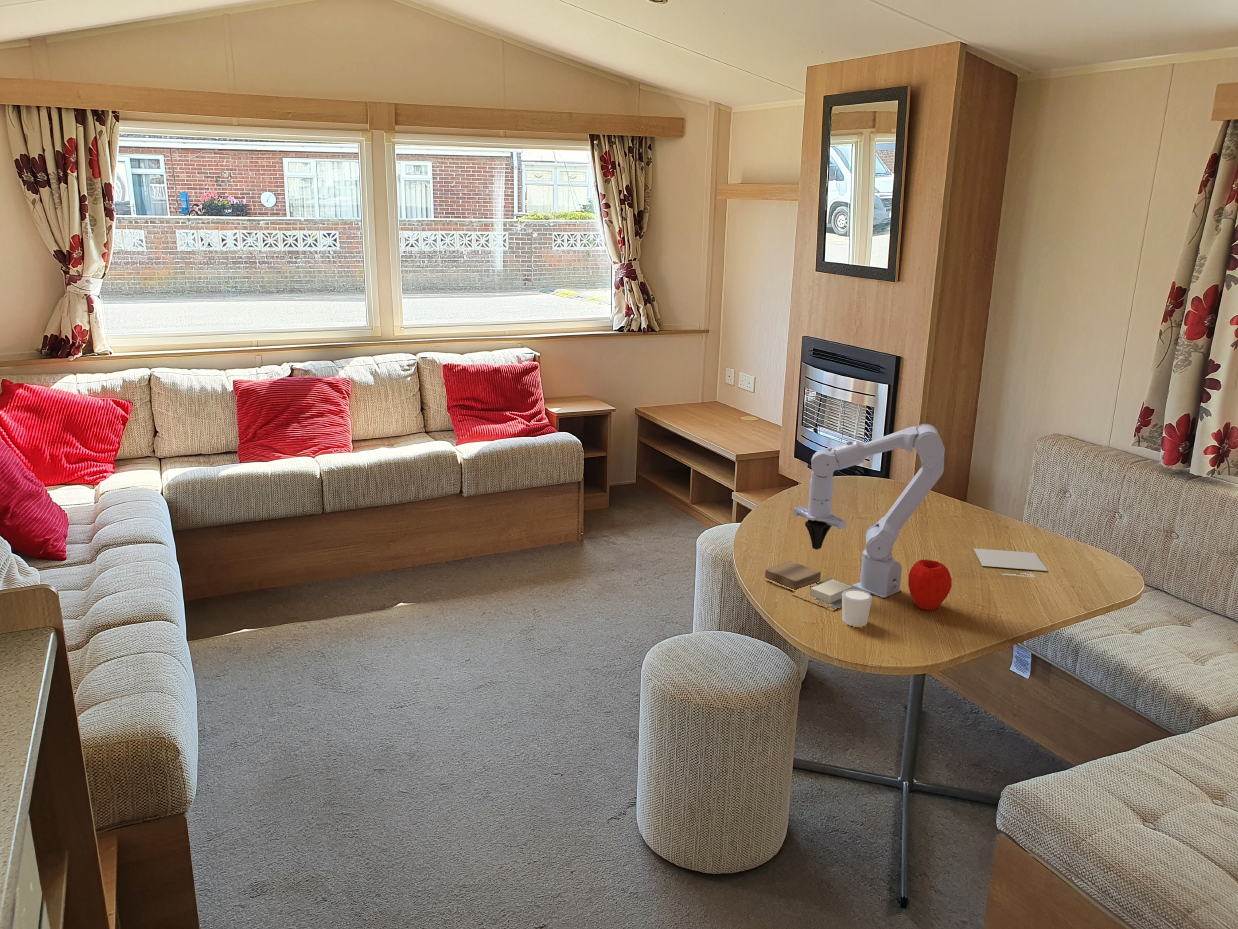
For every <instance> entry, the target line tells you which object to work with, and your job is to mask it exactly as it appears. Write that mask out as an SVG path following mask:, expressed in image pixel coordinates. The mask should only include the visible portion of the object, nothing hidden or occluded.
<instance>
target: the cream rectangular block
mask: <svg viewBox="0 0 1238 929" xmlns="http://www.w3.org/2000/svg"><path fill="white" fill-rule="evenodd" d="M833 579H834V578H833ZM833 579H832V580H830V581H827V582H825V583H822V584H820V585H817V586H814V587H812V588H810V596H813V597H816V598H818V599H820V600H823V601H825V602H828V603H831V602H834V601H836V600H839V599H841V598H842V592H843V591H846V590H851V589H852V586H853V585H852V586H850V585H851V584H849V585H847V584H848V583H847V584H844V583H845V582H844V583H841V582H842V581H841V582H839V581H840V580H838V581H836V580H837V579H836V580H833Z"/></svg>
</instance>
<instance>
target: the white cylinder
mask: <svg viewBox="0 0 1238 929" xmlns="http://www.w3.org/2000/svg"><path fill="white" fill-rule="evenodd" d="M872 600H873V594H872V595H871V594H869V593H868V592H865V591H862V590H854V589H851V590H846V591H843V592H842V608H841V618H842V619H841V621H842V620H843V621H844V622H845V623H846V624H849V625H853V626H864V625H866V624H867V625H868V621H869V620H868V619H869V617H870V616H869V615H870V611H871V605H872ZM843 621H842V622H843ZM867 625H866V626H867Z"/></svg>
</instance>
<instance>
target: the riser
mask: <svg viewBox="0 0 1238 929" xmlns="http://www.w3.org/2000/svg"><path fill="white" fill-rule="evenodd" d="M821 573H822V572H821V571H820V570H816V569H815V568H811V567H808V566H805V565H803V564H800V563H798V562H794V561H791V560H788V561H786V562H783V563H780V564H779V565H778V564H777V565H774V566H772V567H769V568H766V569H765V573H764V574H765V575H764V579H765V578H767V579H769V580H772V581H775V582H777V583H779V584H781V585H784V586H786V587H789V588H791V589H794V590H797V589H799V588H802V587H805V586H808V585H811V584H814V583H817V582H819V581H820V582H821Z"/></svg>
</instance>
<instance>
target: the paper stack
mask: <svg viewBox="0 0 1238 929" xmlns="http://www.w3.org/2000/svg"><path fill="white" fill-rule="evenodd" d="M973 551H974V552H975V555H976V556H977V559H978V560H979V563H980V564H981V566H983V567H993V568H1006V569H1017V570H1018V569H1019V570H1031V572H1030V571H1029V572H1028V573H1033V571H1046V572H1048V569H1047V568H1046V566H1045V564H1044V563H1043V562H1042V561H1041V559H1040V558H1039V556H1038V555H1037V553H1036V552H1025V551H1014V550H1001V549H999V550H998V549H989V548H988V549H987V548H973ZM1032 570H1033V571H1032ZM1019 573H1020V574H1025V575H1028V576H1024V575H1016V574H1009V573H1001V574H1002V575H1003V576H1015V577H1024V578H1025V577H1027V578H1036V576H1035V574H1034V573H1033V574H1026V573H1027V572H1019ZM1002 575H1001V576H1002ZM1029 575H1030V576H1029Z"/></svg>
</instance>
